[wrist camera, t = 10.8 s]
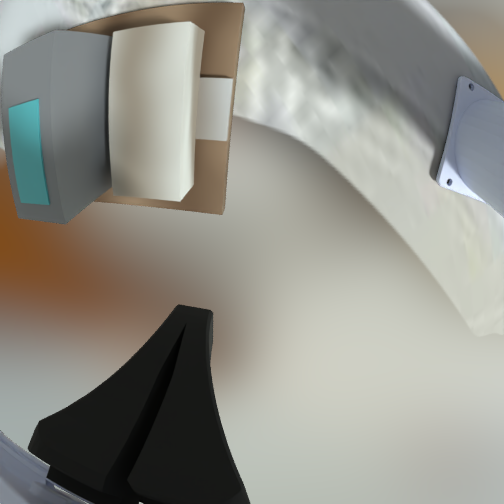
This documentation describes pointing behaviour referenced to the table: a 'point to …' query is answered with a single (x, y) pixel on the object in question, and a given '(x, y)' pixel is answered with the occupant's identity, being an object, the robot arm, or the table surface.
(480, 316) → the table surface
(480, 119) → the robot arm
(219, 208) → the rail board
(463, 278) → the table surface
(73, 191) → the block
